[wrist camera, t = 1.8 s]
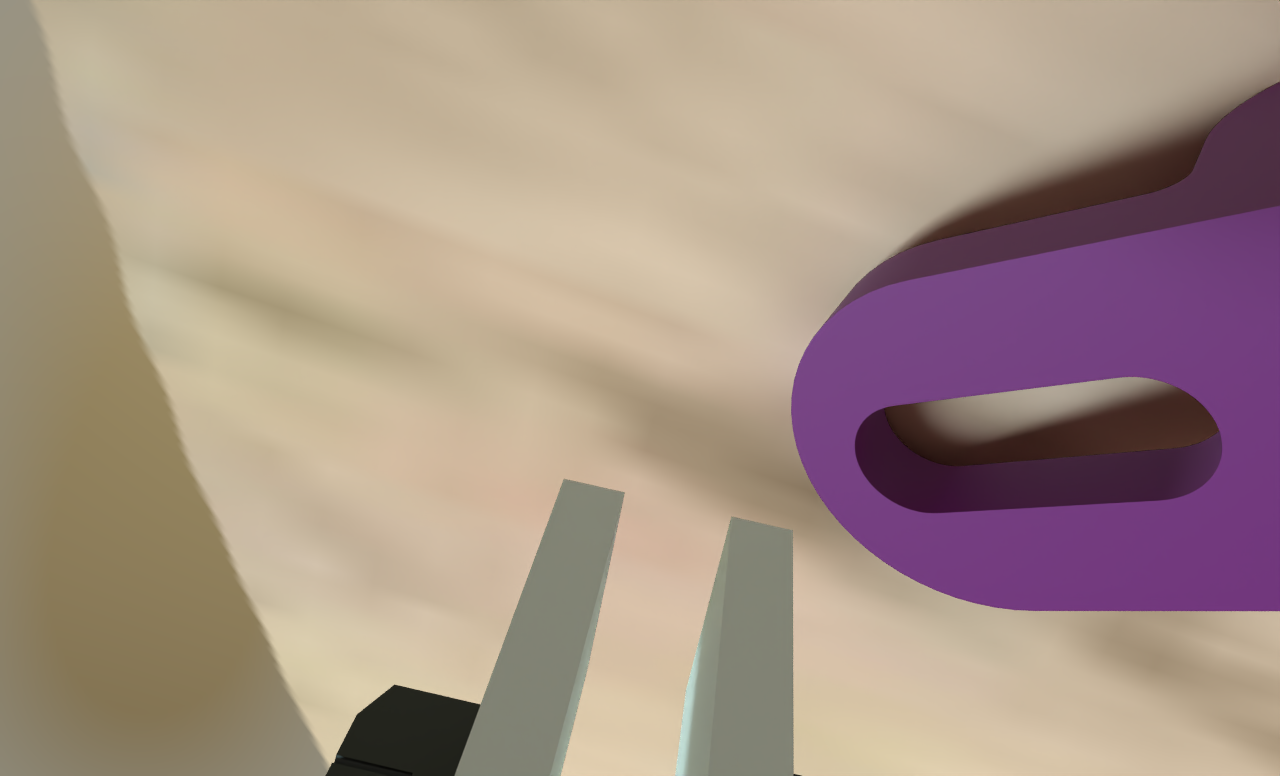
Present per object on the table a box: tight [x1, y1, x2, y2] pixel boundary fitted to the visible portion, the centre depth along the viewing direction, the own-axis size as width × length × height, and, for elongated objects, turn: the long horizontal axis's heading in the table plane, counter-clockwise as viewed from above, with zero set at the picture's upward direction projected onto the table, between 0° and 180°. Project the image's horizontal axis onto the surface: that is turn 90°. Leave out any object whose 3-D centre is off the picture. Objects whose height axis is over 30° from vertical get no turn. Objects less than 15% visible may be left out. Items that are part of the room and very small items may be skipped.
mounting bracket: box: [791, 82, 1280, 611], centre depth 27 cm, size 10×8×18 cm
